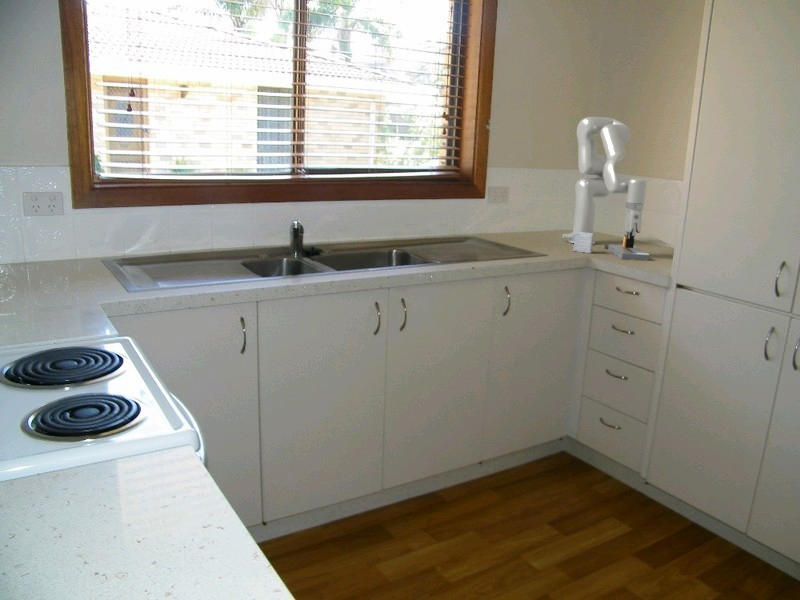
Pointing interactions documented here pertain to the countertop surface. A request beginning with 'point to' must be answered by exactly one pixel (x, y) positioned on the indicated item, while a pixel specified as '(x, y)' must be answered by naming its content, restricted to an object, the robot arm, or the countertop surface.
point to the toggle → (625, 242)
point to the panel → (629, 252)
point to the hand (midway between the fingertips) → (629, 247)
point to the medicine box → (583, 242)
